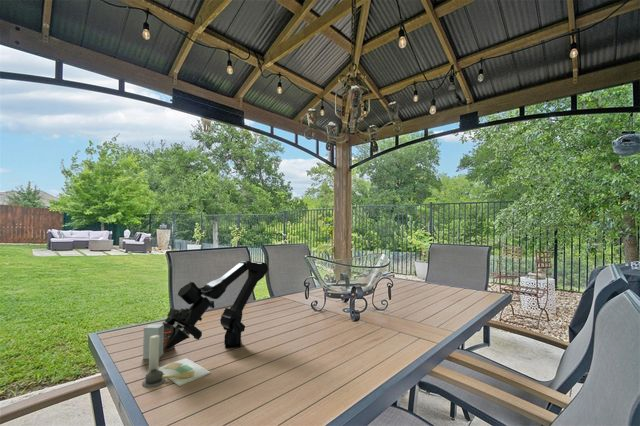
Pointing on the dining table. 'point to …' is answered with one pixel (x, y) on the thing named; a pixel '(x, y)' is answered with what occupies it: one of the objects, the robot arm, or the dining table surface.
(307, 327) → the dining table surface
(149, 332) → the skincare box
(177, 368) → the tuner board
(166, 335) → the supplement bottle
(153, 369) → the peg dial
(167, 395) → the dining table surface
